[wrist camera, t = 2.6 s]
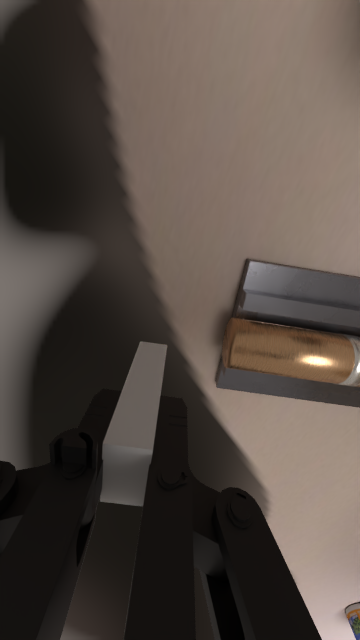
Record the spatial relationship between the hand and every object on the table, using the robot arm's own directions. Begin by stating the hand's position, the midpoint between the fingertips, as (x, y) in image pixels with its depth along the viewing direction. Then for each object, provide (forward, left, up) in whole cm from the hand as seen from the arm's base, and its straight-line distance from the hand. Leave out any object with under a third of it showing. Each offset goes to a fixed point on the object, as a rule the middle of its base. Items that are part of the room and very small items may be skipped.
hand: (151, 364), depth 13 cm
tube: (0, +13, -5) cm, 14 cm away
